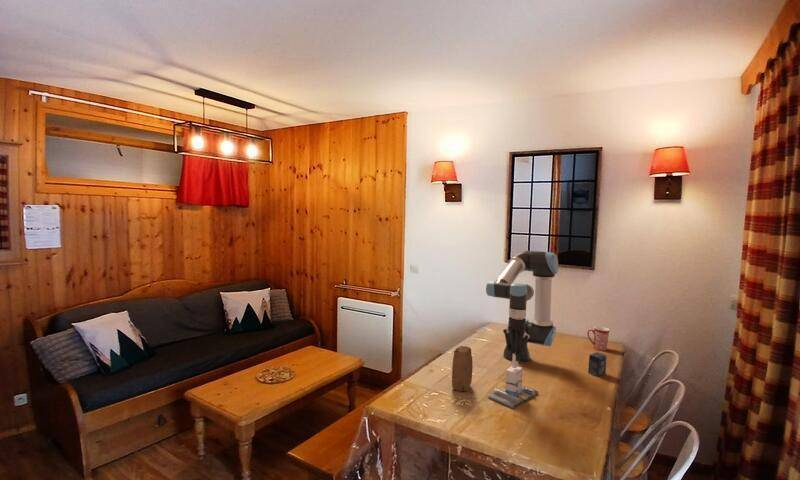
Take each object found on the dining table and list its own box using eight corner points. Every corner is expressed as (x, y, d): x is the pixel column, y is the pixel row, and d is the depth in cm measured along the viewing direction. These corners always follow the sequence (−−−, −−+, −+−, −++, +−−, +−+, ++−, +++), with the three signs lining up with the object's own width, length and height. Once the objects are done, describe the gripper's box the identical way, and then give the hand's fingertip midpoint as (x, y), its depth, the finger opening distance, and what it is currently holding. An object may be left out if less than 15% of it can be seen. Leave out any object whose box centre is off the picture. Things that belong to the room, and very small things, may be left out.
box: (598, 377, 206) (599, 357, 206) (587, 373, 211) (588, 354, 210) (605, 373, 211) (607, 354, 210) (595, 370, 216) (597, 351, 215)
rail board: (488, 397, 180) (488, 391, 179) (513, 384, 194) (514, 378, 194) (513, 408, 170) (513, 402, 170) (538, 393, 185) (538, 387, 185)
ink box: (514, 398, 177) (516, 373, 177) (504, 394, 180) (505, 370, 180) (521, 391, 184) (523, 367, 183) (511, 388, 187) (512, 364, 186)
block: (464, 394, 183) (465, 352, 182) (449, 389, 187) (451, 348, 186) (473, 385, 192) (475, 346, 190) (460, 381, 196) (461, 343, 195)
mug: (607, 347, 253) (609, 327, 252) (608, 352, 245) (610, 331, 244) (586, 344, 259) (587, 324, 258) (586, 348, 250) (587, 328, 249)
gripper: (500, 315, 182) (498, 364, 184) (525, 321, 172) (523, 373, 174) (509, 313, 187) (507, 361, 189) (534, 319, 177) (531, 369, 179)
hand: (514, 367), depth 181 cm, fingers closed
